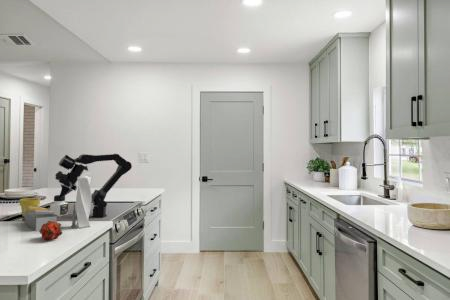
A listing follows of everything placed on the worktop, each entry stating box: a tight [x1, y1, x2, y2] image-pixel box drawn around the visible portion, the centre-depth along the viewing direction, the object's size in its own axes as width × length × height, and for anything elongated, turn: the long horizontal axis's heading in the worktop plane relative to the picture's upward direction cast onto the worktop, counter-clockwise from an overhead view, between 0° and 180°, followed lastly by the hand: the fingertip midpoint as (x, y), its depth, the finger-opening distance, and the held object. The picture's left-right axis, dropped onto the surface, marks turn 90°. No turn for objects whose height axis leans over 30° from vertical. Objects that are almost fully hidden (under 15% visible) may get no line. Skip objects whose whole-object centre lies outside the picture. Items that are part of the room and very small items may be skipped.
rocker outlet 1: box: [28, 206, 48, 211], centre depth 175 cm, size 8×4×1 cm, turn 133°
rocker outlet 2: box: [35, 210, 55, 214], centre depth 165 cm, size 8×4×1 cm, turn 133°
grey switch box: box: [24, 209, 58, 232], centre depth 170 cm, size 10×22×6 cm, turn 43°
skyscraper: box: [71, 172, 94, 230], centre depth 170 cm, size 8×8×28 cm
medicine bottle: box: [49, 194, 69, 217], centre depth 199 cm, size 7×7×12 cm
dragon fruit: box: [39, 221, 63, 242], centre depth 145 cm, size 8×8×12 cm
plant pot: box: [19, 197, 41, 218], centre depth 194 cm, size 10×10×10 cm
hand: (59, 198), depth 183 cm, fingers closed
